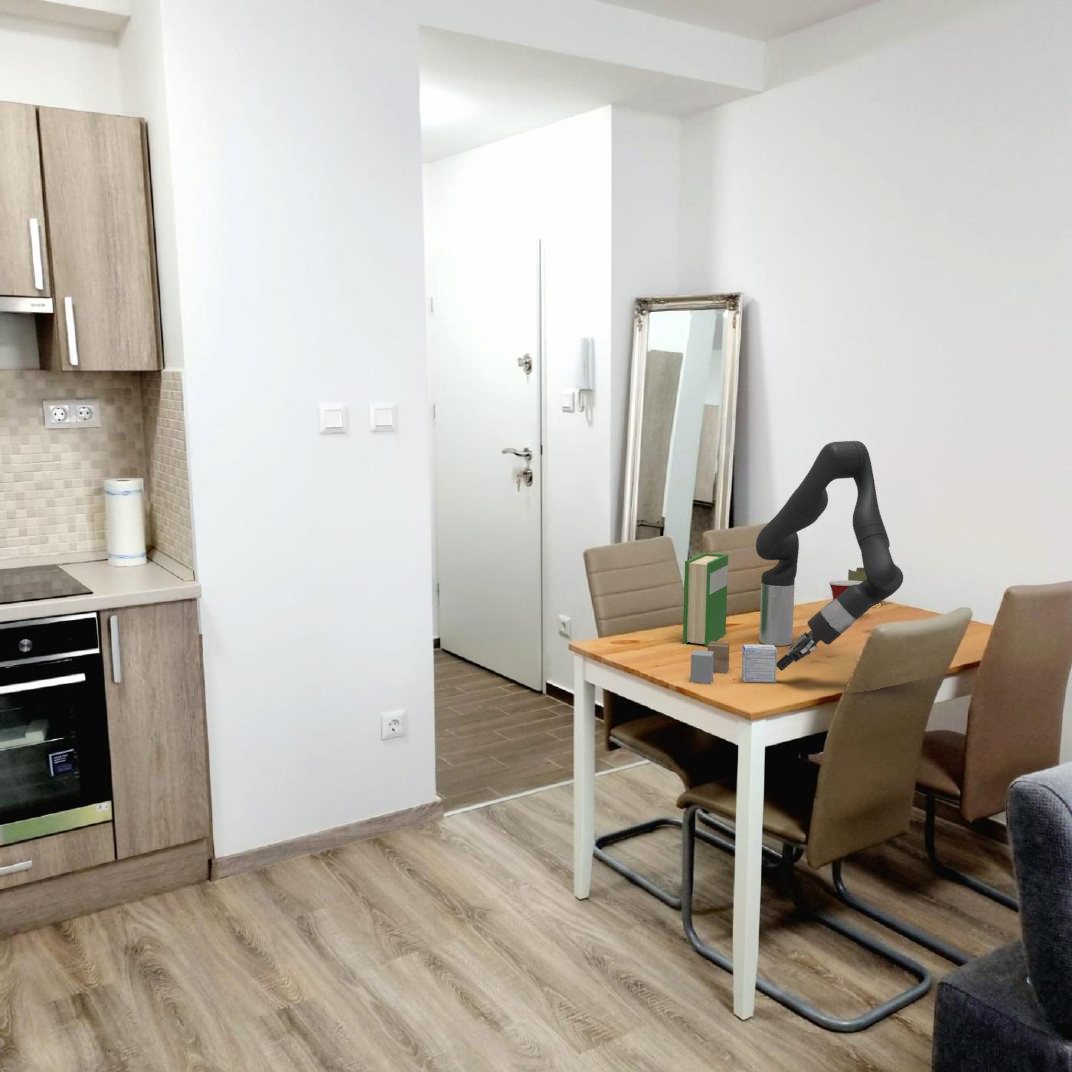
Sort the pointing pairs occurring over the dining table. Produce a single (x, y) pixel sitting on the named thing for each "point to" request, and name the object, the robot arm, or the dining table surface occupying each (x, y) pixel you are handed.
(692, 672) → the slate grey block
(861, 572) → the piston
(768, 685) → the dining table surface
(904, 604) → the dining table surface
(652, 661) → the dining table surface
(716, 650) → the walnut block
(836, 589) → the plastic cup
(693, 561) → the hardback book
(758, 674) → the medicine box
